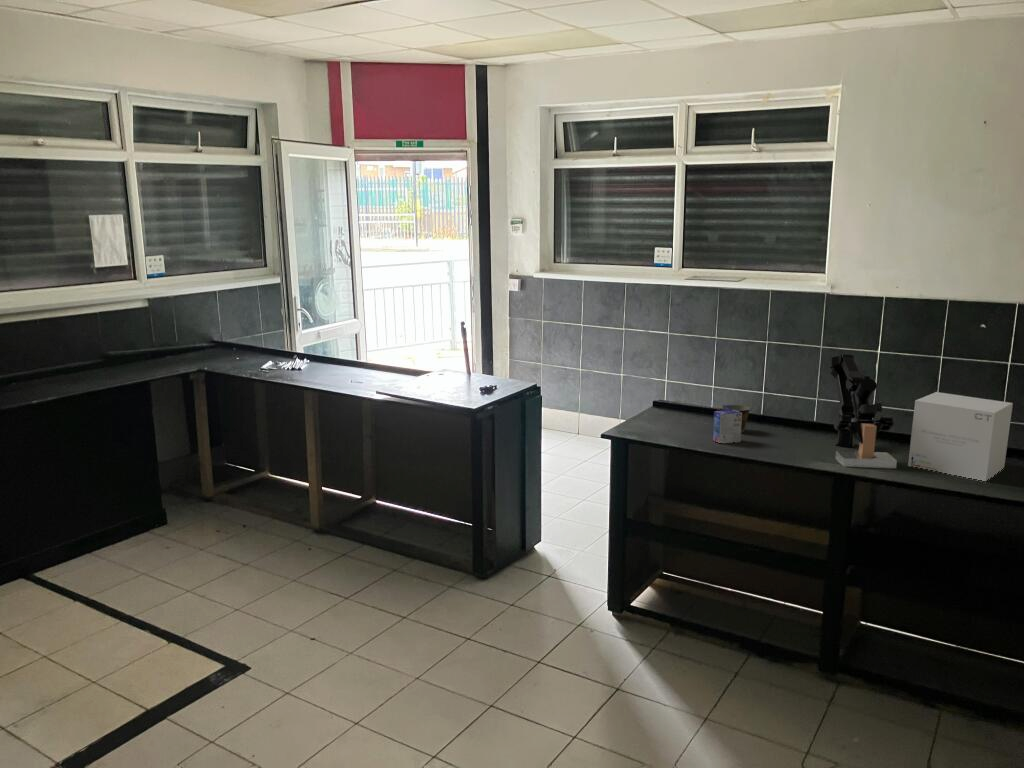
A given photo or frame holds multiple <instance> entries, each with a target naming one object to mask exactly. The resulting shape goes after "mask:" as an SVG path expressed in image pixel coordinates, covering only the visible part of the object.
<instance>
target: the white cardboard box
mask: <svg viewBox="0 0 1024 768" xmlns="http://www.w3.org/2000/svg"><path fill="white" fill-rule="evenodd" d="M1013 404H1014V403H1013V402H1008V401H1000V400H996V399H995V400H994V399H988V398H987V399H986V398H981V397H975V396H973V397H972V396H966V395H960V394H955V393H954V394H953V393H946V392H938V391H935V392H933V393H930V394H928V395H925V396H924V397H920V398H918V399H915V400H914V409H913V417H912V427H911V434H910V435H911V436H910V446H909V454H908V463H907V466H908V467H911V466H913V467H912V468H915V467H918V468H917V469H920V468H923V469H922V470H925V469H928V470H927V471H930V470H933V471H932V472H935V471H938V472H937V473H939V472H942V473H941V474H944V473H947V474H946V475H949V474H951V475H950V476H954V475H957V476H956V477H958V476H962V477H961V478H963V477H966V478H965V479H968V478H972V479H971V480H973V479H977V480H976V481H978V480H982V481H987V480H988V479H989V480H991V479H992V478H993V477H995V476H996V475H997V473H998V472H999V471H1000V472H1002V471H1003V470H1004V469H1005V465H1006V464H1005V463H1006V456H1007V449H1008V443H1009V442H1008V441H1009V434H1010V426H1011V419H1012V413H1013ZM1003 468H1004V469H1003ZM1002 469H1003V470H1002ZM1001 470H1002V471H1001ZM1000 472H999V473H1000ZM999 473H998V474H999ZM995 474H996V475H995ZM994 475H995V476H994ZM991 477H992V478H991ZM990 478H991V479H990ZM989 480H988V481H989ZM982 481H981V482H982ZM988 481H987V482H988Z"/></svg>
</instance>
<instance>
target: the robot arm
mask: <svg viewBox="0 0 1024 768" xmlns="http://www.w3.org/2000/svg"><path fill="white" fill-rule="evenodd" d="M854 357H855V356H854V355H853V354H851V353H850V354H849V353H841V354H838V355H836V356H832V357H830V358H829V359H828V361H827V368H828V369H829V372H830V375H831V376H832V377H833V378H834V379H835V383H836V387H837V394H838V395H837V396H838V400H839V401H838V402H839V407H840V409H839V411H838V414H837V416H836V418H835V420H834V421H833V428H834V429H835V430H836V431H838V433H837V434H838V435H837V440H836V442H835V446H839V447H845V448H846V447H847V448H855V444H856V442H854V439H855V438H856V439H857V440H858V441H859V443H861V444H862V443H863V438H862V434H861V423H865V424H874V425H875V426H877V428H876V438H875V444H876V443H877V438H878V435H879V433H880V432H881V431H886V432H887V431H891V429H892V428H893V426H894V424H895V420H894V418H893V417H892V416H880V418H879V419H874V418H876V414H878V413H881V412H882V411H883V405H882V402H875V403H874V404H873V403H871V402H870V399H872V398H873V395H874V393H875V391H876V390H877V387H878V384H877V382H876V381H875V380H874V379H872V378H871V376H870V375H866V374H865V373H862V372H860V369H859V368H858V366H857V363H856V361H855V358H854ZM852 392H853V393H852Z"/></svg>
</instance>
